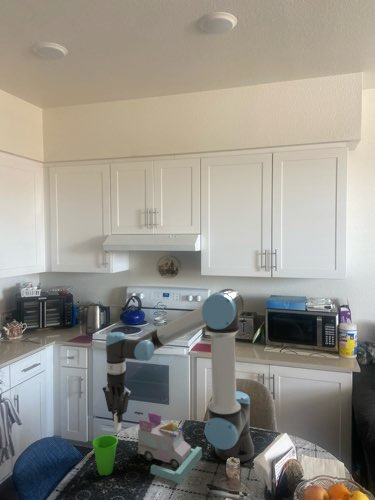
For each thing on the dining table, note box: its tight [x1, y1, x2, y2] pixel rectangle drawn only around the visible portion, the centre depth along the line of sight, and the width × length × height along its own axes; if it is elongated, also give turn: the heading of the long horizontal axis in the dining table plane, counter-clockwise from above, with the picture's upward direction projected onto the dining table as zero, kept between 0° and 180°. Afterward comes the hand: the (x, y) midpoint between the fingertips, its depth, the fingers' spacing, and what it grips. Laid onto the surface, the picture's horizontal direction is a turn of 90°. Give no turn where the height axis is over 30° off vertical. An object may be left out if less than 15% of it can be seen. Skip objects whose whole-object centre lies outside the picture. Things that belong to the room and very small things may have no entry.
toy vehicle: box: [136, 412, 192, 470], centre depth 142 cm, size 9×20×15 cm, turn 63°
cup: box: [91, 434, 119, 476], centre depth 135 cm, size 9×9×11 cm
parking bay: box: [150, 446, 203, 485], centre depth 139 cm, size 12×18×4 cm, turn 153°
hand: (117, 429), depth 152 cm, fingers closed
